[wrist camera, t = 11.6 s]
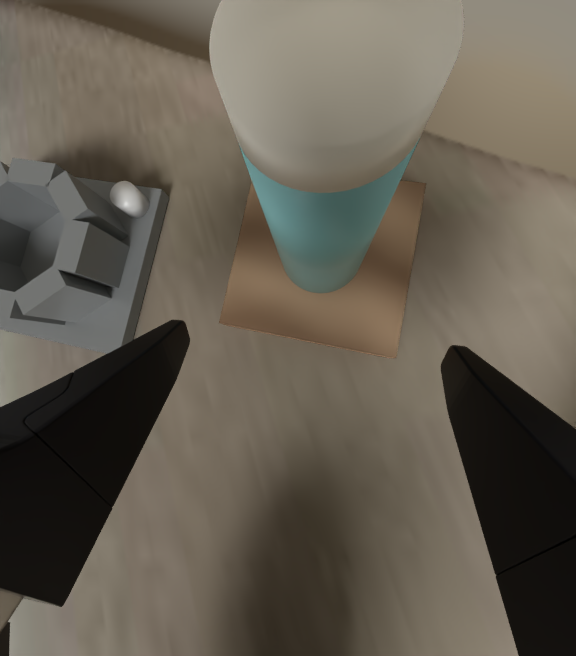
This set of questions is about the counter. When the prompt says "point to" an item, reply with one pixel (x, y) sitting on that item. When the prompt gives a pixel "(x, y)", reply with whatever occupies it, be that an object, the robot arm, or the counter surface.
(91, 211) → the housing
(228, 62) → the ball
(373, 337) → the board
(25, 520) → the robot arm
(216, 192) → the counter surface
